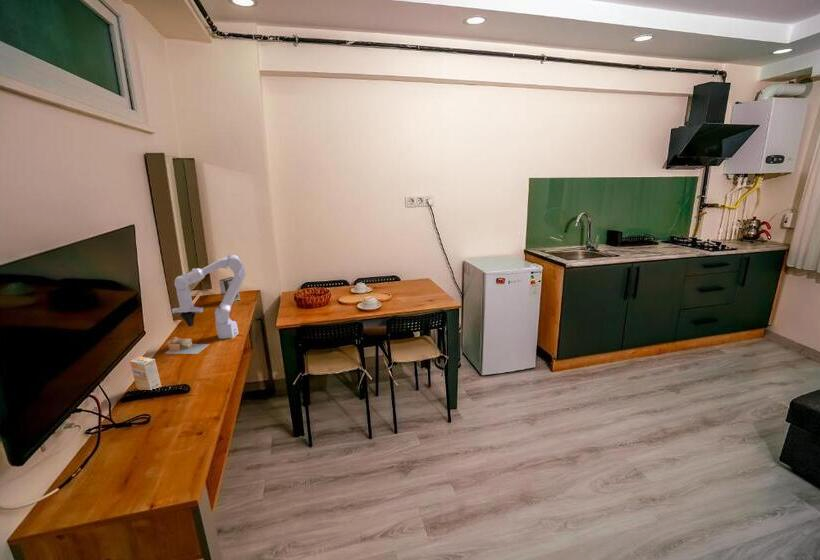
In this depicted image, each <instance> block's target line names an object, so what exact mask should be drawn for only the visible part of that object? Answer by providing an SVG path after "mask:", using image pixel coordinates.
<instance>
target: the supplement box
mask: <svg viewBox="0 0 820 560" xmlns="http://www.w3.org/2000/svg"><path fill="white" fill-rule="evenodd" d="M129 364H130V367H131V371H132V375H133V378H134V381H135V382H134V383H135V385H136V389H137V390H139V391H142V390H152V389H156V388H159V387H161V388H162V383H161V379H160V375H159V371H158V370H159V369H158V366H157V363H156V359H155V358H152V357H147V356H142V355H139V356H138V357H135V358H133V359H132V360H130V361H129ZM159 389H160V388H159Z"/></svg>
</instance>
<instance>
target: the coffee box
mask: <svg viewBox="0 0 820 560" xmlns="http://www.w3.org/2000/svg"><path fill="white" fill-rule="evenodd" d="M233 277H234V276H230V277H226V278H222V279H219V280H218V282H219V288H220V294H221V300H222V301H223V299H224V297H225V294H226V292H227V290H228V288H229V286H230V283H231V281H232V279H233ZM240 296H241V295H240V289H239V290H238V293H237V295H236V297H235V299H234V301H237V300H240V301H241V297H240ZM222 301H221V302H222ZM234 301H233V302H234ZM237 302H238V301H237ZM234 303H235V302H234Z"/></svg>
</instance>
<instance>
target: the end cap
mask: <svg viewBox="0 0 820 560" xmlns="http://www.w3.org/2000/svg"><path fill="white" fill-rule="evenodd" d="M176 338H178V336H174V337H172V338H171V339H170V340H168V341H167V342H166V344H167V348H168V350H173V351H180V350H181V349H180V345H179V344H172V341H173V340H174V339H176Z"/></svg>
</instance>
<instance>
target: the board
mask: <svg viewBox="0 0 820 560" xmlns="http://www.w3.org/2000/svg"><path fill="white" fill-rule="evenodd" d="M210 344H211V343H192V345H193V346H192V347H191V348H189V349H181V350H180V351H173V350H169V349H168V350H167V351H165V352H164V354H171V355H173V354H177V355H179V354H184V355H186V354H187V355H189V354H190V355H193V354H194V355H196V354H197V355H198V354H200V353H201V352H202V351H203V350H204V349H206V348H208V346H209V345H210Z"/></svg>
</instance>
